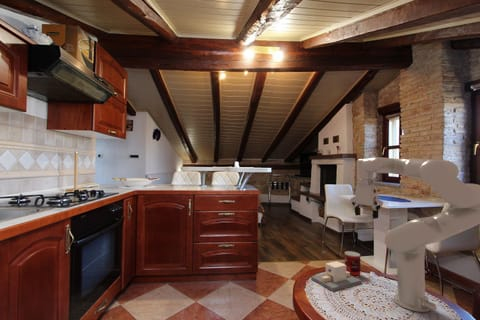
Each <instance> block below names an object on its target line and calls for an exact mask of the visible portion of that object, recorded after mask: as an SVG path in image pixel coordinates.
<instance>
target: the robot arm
mask: <svg viewBox="0 0 480 320" xmlns="http://www.w3.org/2000/svg"><path fill="white" fill-rule="evenodd" d="M459 173H460V168H459V167H458V165H457V164H456V163H455V162H452V161H450V160H445V159H429V158H414V157H413V158H411V157H410V158H408V159H407V158H406V159H405V158H389V157H378V156H376V157H371V158H359V159H358V160H357V161H356V174H357V175H356V177H357V179H356V180H357V182H356V183H357V184H356V186H355V192H354V193H355V194H354V197H351V198H350V202H351V205H352V206H353V208H354V215H355V216H356V217H357V216H358V217H359V216H361V207H360V206H366V207H371V208H372V219H374V220H375V219H379V211H380V210H381V208H382V207H383V205H384V201H382V200H381V199H379V195H378V189H377V186H376V185H375V184H377V181H376V180H375V174H393V175H401V176H406V177H407V178H409V179H416V180H424V182H425V183H426V184H427V185H428V186H429V187H430V188H431V189H432V190H433V191H434V192H435V193H436V194H437V195H438V196H439V197H440V198H441V199H442V200H443V201H444V202H445V203H446V204H447V205H450V206H451V207H449V208H447V209H445V210H443V211H441V212H438V213H436V214H434V215H431V216H427V217H426V216H425V217H419V218H414V219H411V220H408V221H407V222H405V223H402V224H400V225H399V226H398V225H397V226H396V227H394V228H392V229H390V230H388V232H386V234H385V235H384V244H385V246H386V248H387V249H388V250H389V251H391V252H392V253H395V254H397V255H396V271H397V272H396V274H397V278H396V279H397V294H395V295H393V301H394V302H395V303H396V304H397V305H398V306H400V307H402V308H404V309H407V310H410V311H413V312H417V313H418V312H419V313H428V312H429V311H433V312H436V311H437V310H438V309H437V304H436V303H434V302H431V301H430V300H429V296H427V295H426V280H425V279H426V278H425V277H426V276H425V275H426V274H425V273H426V272H425V268H426V267H425V255H426V248H427V245H431V244H434V243H439V242H442V241H444V240H445V239H448V238H450V237H453V236H455V235H457V234H460V233H462V232H464V231H467V230H470V229H472V228H474V227H476V226H478V225H480V184H476V183H464V181H462V180H461V179H460V178H458V176H459Z"/></svg>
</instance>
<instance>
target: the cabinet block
mask: <svg viewBox="0 0 480 320" xmlns="http://www.w3.org/2000/svg"><path fill="white" fill-rule="evenodd" d="M325 273H326V276H328V275H331V276H333V281H334V282H338V281H342V280H346V265H345V263H343V262H339V261H337V260H335V261H331V262H327V263H325Z"/></svg>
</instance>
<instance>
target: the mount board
mask: <svg viewBox="0 0 480 320" xmlns="http://www.w3.org/2000/svg"><path fill="white" fill-rule="evenodd" d="M310 277H311V278H310V279H311V280H312V281H314V282H315V283H316V284H319V285H320V286H322V287H324V288H325V289H327V290H329V291H331V292H336V291H339V290H343V289H347V288H350V287H353V285H354V286H357V284H358V285H360V283H361V284H362V283H363V282H362V279H360V278H358V277H354V276H351V275H350V272H348V271H346V280H342V281H338V282H334V281H333V276H331V275H328V276H326V272H324V273H320V274H316V275H315V274H314V275H312V276H310Z"/></svg>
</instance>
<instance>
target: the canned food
mask: <svg viewBox="0 0 480 320" xmlns="http://www.w3.org/2000/svg"><path fill="white" fill-rule="evenodd" d="M344 264H345V265H346V271H348V272H350V275H351V276H353V277H354V276H358V277H360V276H361V273H362V272H361V254H360V253H359V252H356V251H353V250H350V251H349V250H348V251H344Z"/></svg>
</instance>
